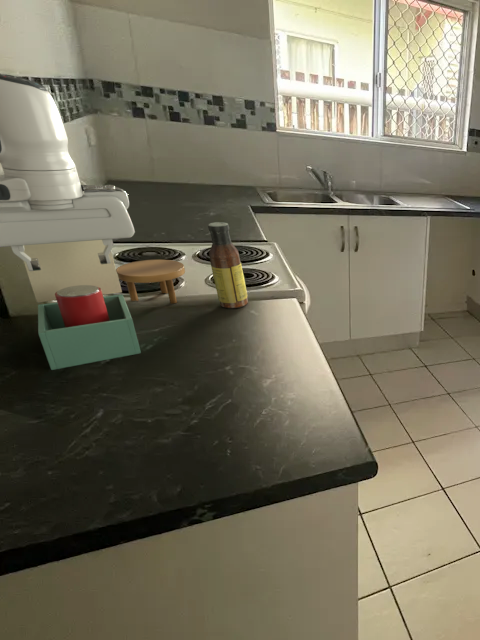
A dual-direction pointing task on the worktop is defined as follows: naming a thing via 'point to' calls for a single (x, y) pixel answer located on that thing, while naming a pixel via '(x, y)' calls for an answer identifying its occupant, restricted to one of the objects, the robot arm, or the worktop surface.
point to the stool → (151, 275)
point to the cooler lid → (70, 268)
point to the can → (81, 305)
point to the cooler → (87, 335)
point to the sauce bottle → (226, 267)
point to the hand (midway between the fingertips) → (71, 266)
